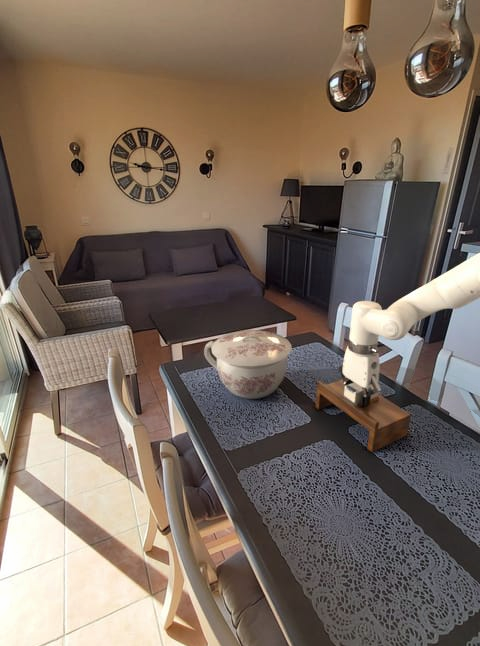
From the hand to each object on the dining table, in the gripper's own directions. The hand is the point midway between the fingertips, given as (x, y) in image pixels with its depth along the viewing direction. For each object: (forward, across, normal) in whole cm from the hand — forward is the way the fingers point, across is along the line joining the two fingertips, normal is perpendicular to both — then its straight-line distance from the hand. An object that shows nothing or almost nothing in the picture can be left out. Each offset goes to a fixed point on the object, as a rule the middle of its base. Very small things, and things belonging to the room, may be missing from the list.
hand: (356, 399), depth 107 cm
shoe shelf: (+8, 0, -2) cm, 9 cm away
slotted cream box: (+1, 0, -2) cm, 2 cm away
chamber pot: (+8, +33, +17) cm, 38 cm away
